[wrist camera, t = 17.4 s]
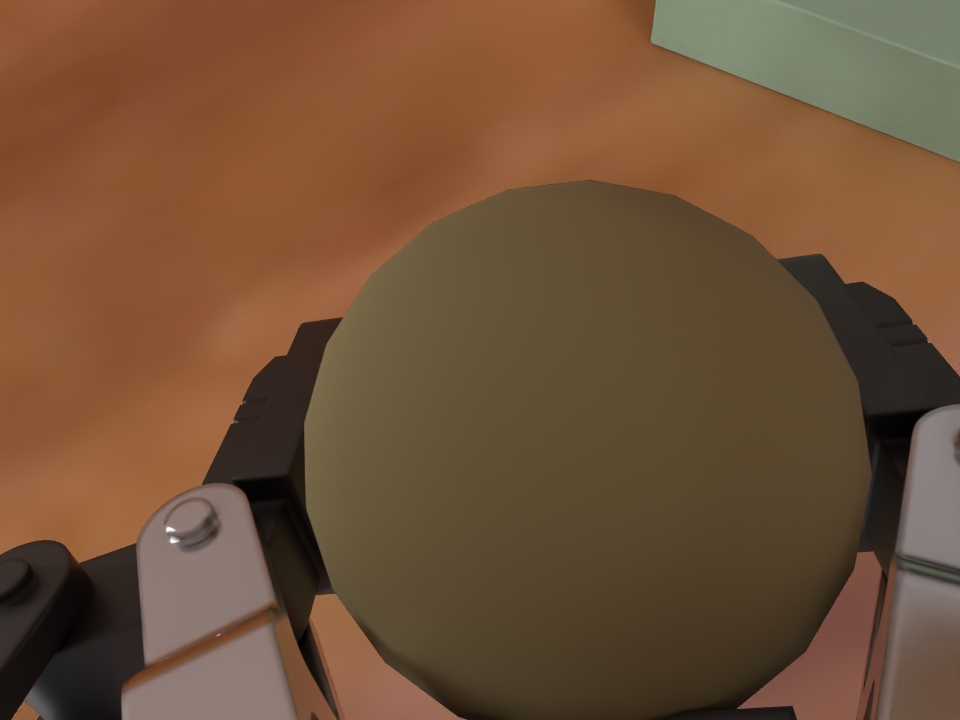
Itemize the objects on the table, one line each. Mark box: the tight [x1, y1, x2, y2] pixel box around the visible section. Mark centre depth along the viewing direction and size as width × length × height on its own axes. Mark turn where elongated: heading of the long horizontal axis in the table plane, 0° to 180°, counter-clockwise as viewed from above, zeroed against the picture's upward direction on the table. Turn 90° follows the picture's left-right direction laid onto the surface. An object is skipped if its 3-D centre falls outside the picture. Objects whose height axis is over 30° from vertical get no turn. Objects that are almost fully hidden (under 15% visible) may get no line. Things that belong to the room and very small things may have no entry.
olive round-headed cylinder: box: [304, 180, 872, 720], centre depth 11 cm, size 6×6×11 cm
